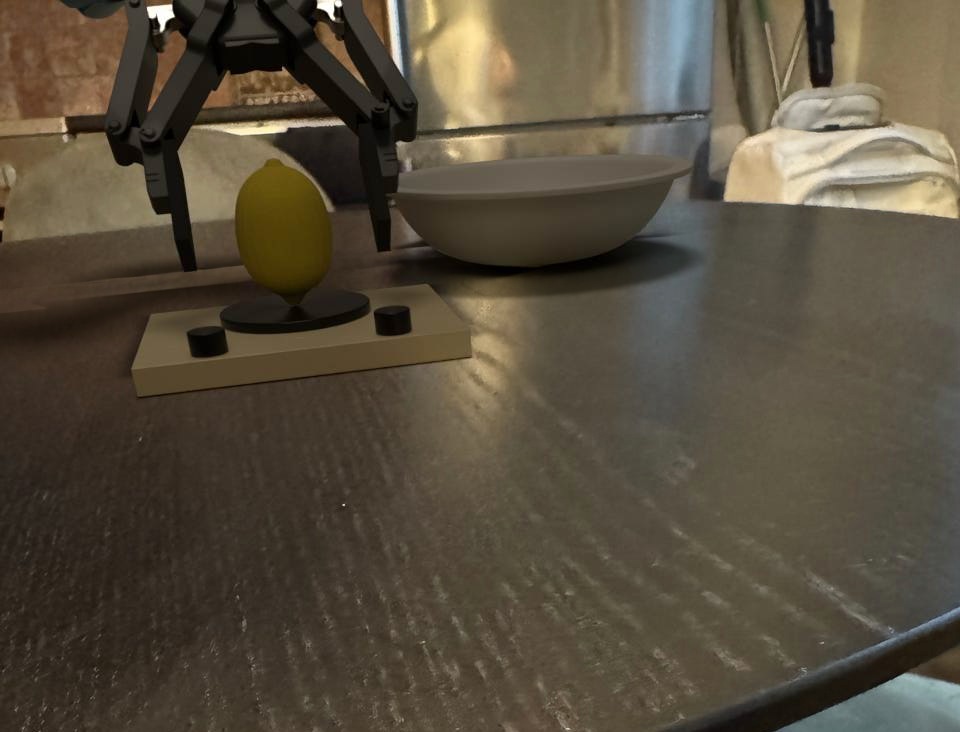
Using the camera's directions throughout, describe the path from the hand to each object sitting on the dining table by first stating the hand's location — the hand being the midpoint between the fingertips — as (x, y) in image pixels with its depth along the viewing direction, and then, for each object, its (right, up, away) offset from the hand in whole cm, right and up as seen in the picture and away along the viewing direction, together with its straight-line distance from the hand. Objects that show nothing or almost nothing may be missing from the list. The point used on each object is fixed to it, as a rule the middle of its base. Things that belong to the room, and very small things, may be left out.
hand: (286, 246), depth 55 cm
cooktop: (0, -4, +4) cm, 6 cm away
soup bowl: (+15, +8, +23) cm, 29 cm away
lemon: (0, -2, +5) cm, 5 cm away
